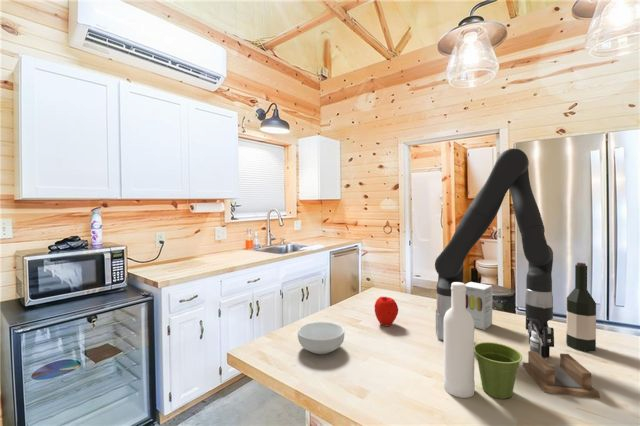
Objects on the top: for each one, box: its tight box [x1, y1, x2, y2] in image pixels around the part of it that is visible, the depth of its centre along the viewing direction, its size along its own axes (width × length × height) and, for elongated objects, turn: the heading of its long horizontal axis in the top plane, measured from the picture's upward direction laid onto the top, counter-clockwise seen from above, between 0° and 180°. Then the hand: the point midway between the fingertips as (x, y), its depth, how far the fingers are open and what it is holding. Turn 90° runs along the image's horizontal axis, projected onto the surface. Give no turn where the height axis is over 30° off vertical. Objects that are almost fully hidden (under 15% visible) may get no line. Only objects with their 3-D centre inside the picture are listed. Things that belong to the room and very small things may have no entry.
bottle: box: [442, 282, 476, 399], centre depth 86 cm, size 8×8×30 cm
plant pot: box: [474, 341, 523, 400], centre depth 86 cm, size 12×12×11 cm
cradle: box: [522, 350, 601, 398], centre depth 90 cm, size 13×14×6 cm
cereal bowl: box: [297, 321, 345, 355], centre depth 113 cm, size 17×17×7 cm
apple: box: [374, 296, 399, 327], centre depth 134 cm, size 10×10×12 cm
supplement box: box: [464, 281, 493, 331], centre depth 133 cm, size 10×9×17 cm
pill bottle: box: [529, 331, 548, 361], centre depth 104 cm, size 5×5×8 cm
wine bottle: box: [565, 262, 597, 353], centre depth 111 cm, size 8×8×30 cm
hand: (538, 350), depth 104 cm, fingers open, 8 cm apart
